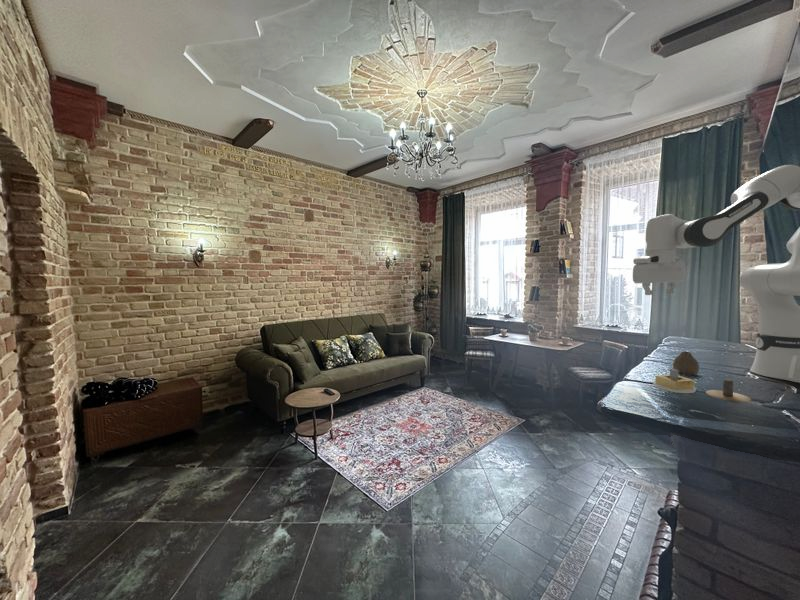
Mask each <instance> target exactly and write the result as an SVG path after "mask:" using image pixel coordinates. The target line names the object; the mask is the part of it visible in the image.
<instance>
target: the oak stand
mask: <svg viewBox="0 0 800 600" xmlns="http://www.w3.org/2000/svg"><path fill="white" fill-rule="evenodd" d="M722 381H723V384H722V385H723V386H722V390H719V389H709V390H706V392H705V393H706V394H707V395H709V396H711V397H713V398H715V399H720V400H723V401H729V402H736V403H737V402H738V403H739V402H740V403H741V402H742V403H748V402H749V403H750V402H751V401H752V398H750V397H749V396H746V394H745V395H744V394H741V393H737V392H734V380H732V379H729V378H723V379H722Z"/></svg>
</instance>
